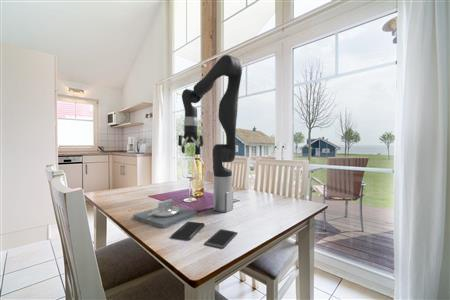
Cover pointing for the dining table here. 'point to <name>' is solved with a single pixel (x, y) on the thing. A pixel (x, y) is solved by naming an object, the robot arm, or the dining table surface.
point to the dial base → (164, 221)
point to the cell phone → (220, 239)
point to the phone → (188, 231)
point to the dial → (165, 209)
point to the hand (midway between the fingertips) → (190, 153)
